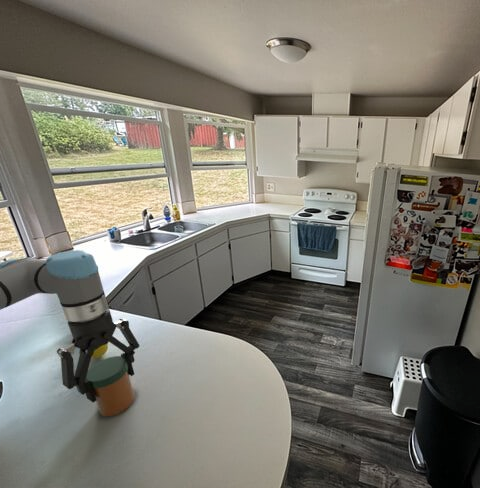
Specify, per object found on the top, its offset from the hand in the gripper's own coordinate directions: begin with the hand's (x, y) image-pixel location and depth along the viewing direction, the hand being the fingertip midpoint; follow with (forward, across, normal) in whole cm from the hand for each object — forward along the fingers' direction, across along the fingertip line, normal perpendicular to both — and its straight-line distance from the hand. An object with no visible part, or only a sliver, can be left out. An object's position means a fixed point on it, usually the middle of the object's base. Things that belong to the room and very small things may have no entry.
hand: (112, 385), depth 67 cm
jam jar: (+6, 0, 0) cm, 6 cm away
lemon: (+7, +7, +24) cm, 26 cm away
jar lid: (-6, 0, 0) cm, 6 cm away
